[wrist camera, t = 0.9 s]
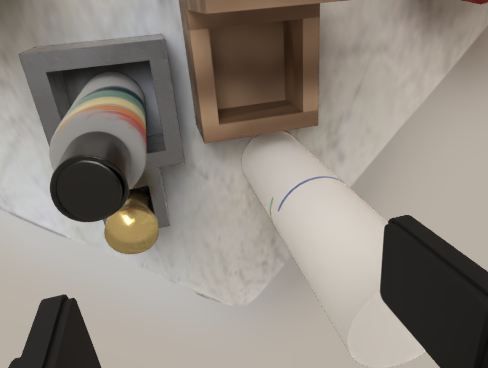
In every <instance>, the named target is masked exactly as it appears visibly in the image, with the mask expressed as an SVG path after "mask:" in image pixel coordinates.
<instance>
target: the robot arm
mask: <svg viewBox="0 0 488 368" xmlns="http://www.w3.org/2000/svg"><path fill="white" fill-rule="evenodd" d="M380 295H381V298H382V300H383V301H384V303H385V304H386V305H387V306H388V308H389V309H390V310H391V311H392V312H393V313H394V314H395V316H396V317H397V318H398V319H399V320H400V321H401V323H402V324H403V325H404V326H405V327H406V328H407V330H408V331H409V332H410V333H411V334H412V335H413V337H414V338H415V339H416V340H417V341H418V342H419V344H420V345H421V346H422V347H423V348H424V349H425V351H426V352H427V353H428V354H429V355H430V356H431V358H432V359H433V360H434V361H435V362H436V363H437V365H438V366H439V367H440V368H488V272H487V271H486V270H485V269H483V268H482V267H480V266H479V265H477V264H476V263H475V262H474V261H472V260H471V259H469V258H468V257H467V256H465V255H464V254H462V253H461V252H460V251H458V250H457V249H456V248H454V247H453V246H451V245H450V244H449V243H447V242H446V241H445V240H443V239H442V238H441V237H439V236H438V235H436V234H435V233H434V232H432V231H431V230H430V229H428V228H427V227H425V226H424V225H422V224H421V223H420V222H418V221H417V220H416V219H414V218H413V217H412V216H409V215H404V216H400V217H396V218H392V219H390V220H389V221H388V224H386V225H385V227H384V237H383V251H382V266H381V281H380ZM8 368H101V366H100V363H99V360H98V357H97V355H96V352H95V349H94V347H93V344H92V341H91V339H90V336H89V333H88V331H87V328H86V325H85V323H84V320H83V317H82V315H81V312H80V309H79V307H78V304H77V301H76V300H75V298H71V299H68V297H67V295H60V296H56V297H51V298H47V299H43V300H42V301H41V303H40V305H39V308H38V311H37V314H36V316H35V319H34V322H33V325H32V327H31V331H30V333H29V336H28V339H27V341H26V345H25V347H24V350H23V353H22V355H21V357H20V358H15V359H14V360H13V361H12V362H11V364H10V365H9V367H8Z"/></svg>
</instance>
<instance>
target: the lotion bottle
mask: <svg viewBox="0 0 488 368" xmlns="http://www.w3.org/2000/svg"><path fill="white" fill-rule="evenodd" d="M50 161H51V165H52V168H53V170H54V173H53V175H52V178H51V182H50V193H51V197H52V200H53V203H54V204H55V206H56V207H57V209H58V210H59V211H60V212H61V213H62V214H63V215H65V216H66V217H68V218H70V219H73V220H76V221H80V222H94V221H99V220H103V219H105V218H108V217H110V216H112V215H113V214H115V213H116V212H117V211H118V210H120V209H121V208H122V206H123V205H124V204H125V202H126V200H127V198H128V195H129V189H130V188H131V187H132V186H133V185H134V184H135V183H136V182H137V181H138V180H139V178H140V177H141V175H142V173H143V171H144V168H145V164H146V119H145V101H144V96H143V93H142V91H141V89H140V87H139V86H138V85H137V83H136V82H135V81H134V80H133V79H131V78H130V77H128V76H126V75H124V74H122V73H118V72H104V73H101V74H98V75H96V76H94V77H93V78H92V79H91V80H89V82H88V83H87V84H86V85H85V87H84V88H83V90H82V91H81V93H80V94H79V96H78V97H77V99H76V100H75V102H74V103H73V105H72V106H71V108H70V109H69V111H68V112H67V114H66V115H65V117H64V118H63V120H62V121H61V123H60V124H59V126H58V128H57V129H56V131H55V133H54V135H53V137H52V140H51V143H50Z"/></svg>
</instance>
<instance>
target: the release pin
mask: <svg viewBox="0 0 488 368" xmlns="http://www.w3.org/2000/svg"><path fill="white" fill-rule="evenodd" d="M158 234H159V229H158V221H157V218H156V216H155V214H154V213H153V212H152V211H151V210H149V209H148V197H147V195H146V193H145V192H144V191H142V190H140V189H137V188H133V189H129V195H128V198H127V200H126V202H125V204H124V205H123V206H122V208H121V209H120V210H118V211H117V212H116V213H115V214H113V215H112V216H110V217H108V218H107V221H106V225H105V239H106V241H107V243H108V244H109V245H110V246H111V247H112V248H113V249H114V250H116V251H118V252H120V253H124V254H138V253H141V252H144V251H146V250H148V249H149V248H150V247H152V246H153V245H154V243H155V242H156V240H157V238H158Z"/></svg>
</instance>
